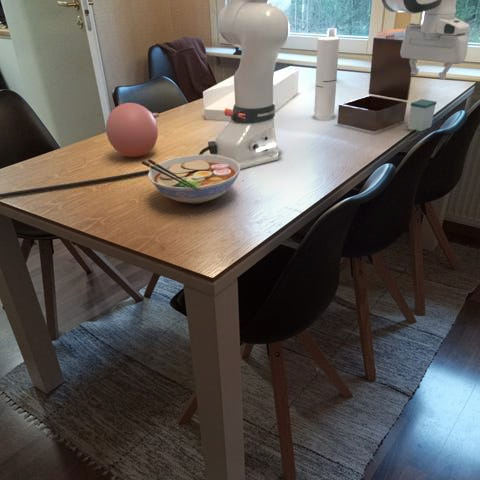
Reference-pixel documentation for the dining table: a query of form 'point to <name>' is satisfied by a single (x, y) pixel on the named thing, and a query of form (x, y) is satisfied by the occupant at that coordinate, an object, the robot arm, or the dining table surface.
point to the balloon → (132, 129)
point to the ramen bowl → (194, 177)
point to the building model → (225, 94)
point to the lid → (389, 70)
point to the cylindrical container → (326, 76)
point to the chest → (372, 113)
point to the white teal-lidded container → (421, 114)
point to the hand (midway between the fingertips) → (427, 77)
